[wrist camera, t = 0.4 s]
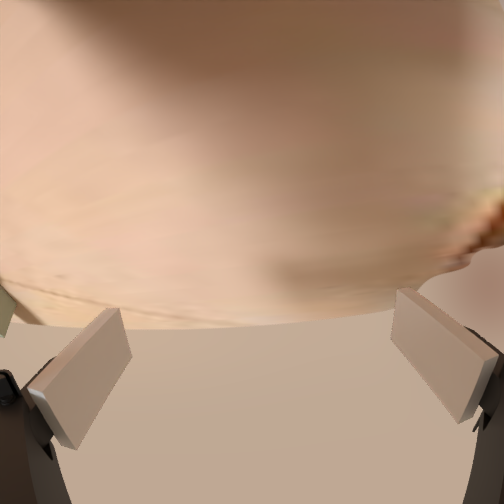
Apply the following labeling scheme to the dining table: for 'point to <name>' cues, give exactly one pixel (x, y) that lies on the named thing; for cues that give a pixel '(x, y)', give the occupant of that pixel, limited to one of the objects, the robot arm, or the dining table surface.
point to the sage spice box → (5, 311)
